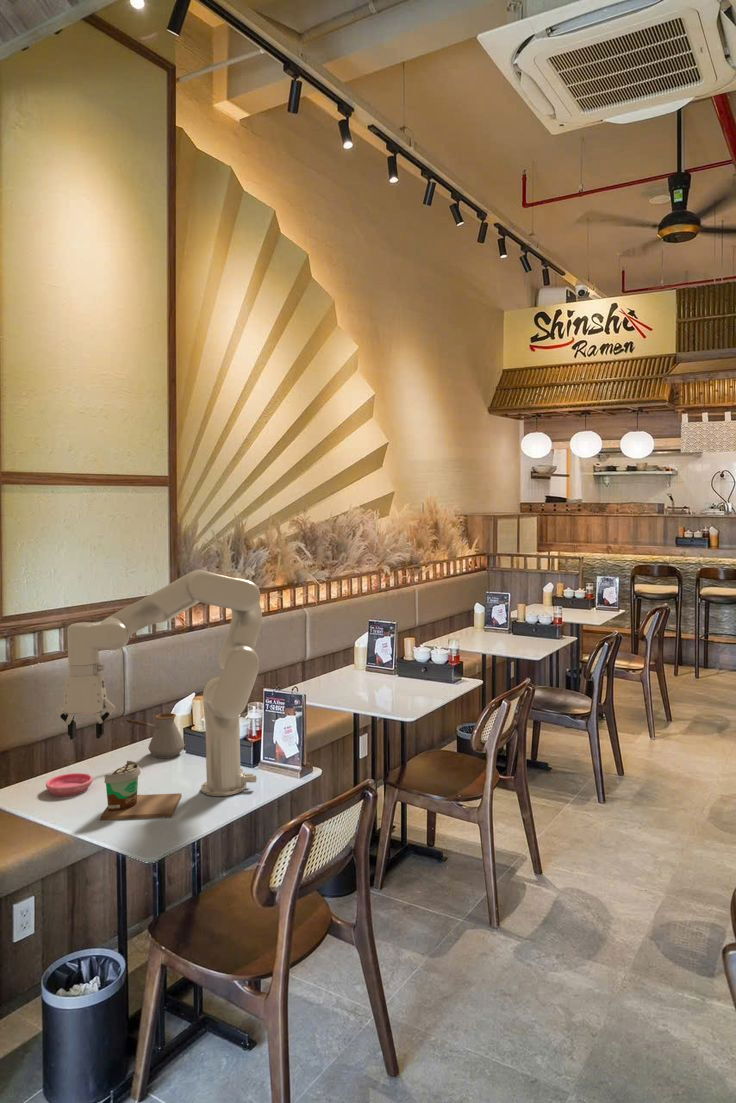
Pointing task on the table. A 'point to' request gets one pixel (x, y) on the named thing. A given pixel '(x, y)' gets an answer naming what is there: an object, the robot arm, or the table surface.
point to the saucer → (69, 784)
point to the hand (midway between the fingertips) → (86, 737)
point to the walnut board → (147, 807)
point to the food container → (122, 787)
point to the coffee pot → (163, 736)
